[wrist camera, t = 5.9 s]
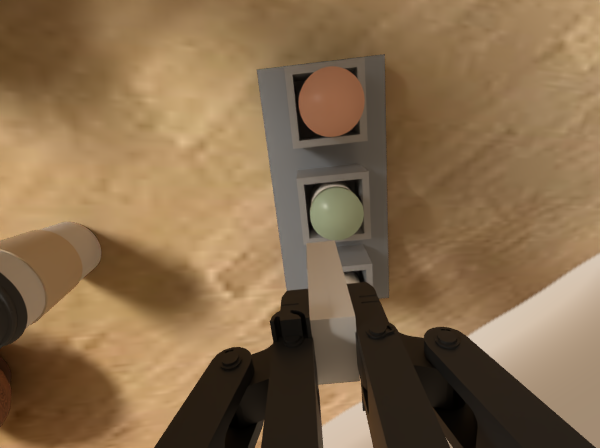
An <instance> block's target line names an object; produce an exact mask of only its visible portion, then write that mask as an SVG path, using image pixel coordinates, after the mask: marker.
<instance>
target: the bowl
mask: <svg viewBox="0 0 600 448" xmlns="http://www.w3.org/2000/svg"><path fill="white" fill-rule="evenodd" d="M10 382H11V371H10V369H9V367H8V365H7V363H6V362H5V361H4V360H3V359H2V358H1V357H0V427H1V425H2V423H3V422H4V420H5V419H6V417H7V415H8V413H9V410H10V404H11V387H10V385H9V383H10Z"/></svg>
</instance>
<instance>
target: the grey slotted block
mask: <svg viewBox="0 0 600 448" xmlns="http://www.w3.org/2000/svg"><path fill="white" fill-rule="evenodd" d="M329 66H336V67H341V68H344V69H346V70H348V71H350V72H351V73H352V74H354V75H355V76H356V78H357V79H358V80H359V82H360V84H361V85H362V88H363V91H364V97H365V104H364V110H363V113H362V116H361V118H360V120H359V121H358V123H357V124H356V125H355V126H354V127H353V128H352V129H351V130H350V131H348V132H347V133H345V134H343V135H340V136H336V137H325V136H321V135H319V134H316V133H315V132H313V131H312V130H310V129H309V128H308V127H307V125H306V124H305V123H304V121H303V119H302V117H301V114H300V111H299V95H300V91H301V88H302V86H303V84H304V83H305V81H306V80H307V78H308V77H309V76H310V75H311V74H313V73H314V72H315V71H317V70H319V69H321V68H324V67H329ZM257 75H258V83H259V90H260V97H261V105H262V112H263V119H264V127H265V134H266V141H267V149H268V156H269V163H270V171H271V178H272V185H273V193H274V200H275V207H276V215H277V222H278V229H279V237H280V244H281V251H282V259H283V266H284V274H285V281H286V288H287V291H288V290H298V289H308V271H307V248H306V243H315V242H325V241H334V240H329V239H326V238H324V237H322V236H321V235H319V234H318V233H317V232H316V231H315V229H314V228H313V226H312V223H311V219H310V207H311V205H310V194H311V191H312V189H313V187H314V186H315V184H316V183H326V182H335V181H344V182H345V183H346V184H347V185H348V186H349V187H350V189H351V190H352V192H353V193H354V194H355V195H356V196H357V197H358V199H359V200H360V202H361V204H362V206H363V211H364V217H363V222H362V224H361V226H360V228H359V229H358V231H357V232H356V233H355V234H353V235H352V236H350V237H349V238H346V239H343V240H335V244H336V247H337V251H338V255H339V258H340V262H341V266H342V269H343V272H348V271H354V272H355V273H356V274H357V276H358V278H359V281H360V282H367V283H369V284H370V285H371V286H373V287H374V289H375V291H376V293H377V296H378V298H379V299H380V298H389V266H388V212H387V157H386V103H385V54H383V55H375V56H366V57H358V58H350V59H341V60H333V61H325V62H316V63H308V64H300V65H291V66H283V67H275V68H266V69H258V70H257Z"/></svg>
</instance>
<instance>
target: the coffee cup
mask: <svg viewBox="0 0 600 448" xmlns="http://www.w3.org/2000/svg"><path fill="white" fill-rule="evenodd" d="M100 259H101V247H100V243H99V241H98V239H97V238H96V236H95V235H94V234H93V233H92V232H91V231H90V230H89V229H88V228H86V227H84V226H83V225H80V224H78V223H74V222H62V223H59V224H56V225H52V226H49V227H46V228H43V229H40V230H34V231H29V232H26V233H23V234H20V235H17V236H14V237H10V238H7V239H4V240H1V241H0V348H2V347H3V346H6V345H8V344H11V343H13V342H14V341H16V340H17V339H18V338H19V337H20V336H21V335H22V334H23V332H24V330H25V329H26V328H27V327H28V326H29V325H31V324H33V323H35V322H36V321H38V320H39V319H40V318H41V317H42V316H43V315H44V314H45V313H47V312H48V311H49V310H50V309H51V308H52V307H53V306H54V305H55V304H57V303H58V302H59V301H60V300H61V299H62V298H63V297H64V296H65V295H66V294H68V293H69V292H70V291H71V290H72V289H73V288H74V287H75V286H76V285H77V284H78V283H79V281H80V280H81V279H83V278H84V277H85V276H86V275H87V274H88V273H89V272H91V271H92V270H93V269H94V268H95V267H96V266H97V265H98V264H99V262H100Z"/></svg>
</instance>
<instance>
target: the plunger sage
mask: <svg viewBox="0 0 600 448" xmlns="http://www.w3.org/2000/svg"><path fill="white" fill-rule="evenodd" d="M310 205H311V207H310V219H311V223H312V226H313V228H314V229H315V231H316V232H317V233H318V234H319V235H321V236H322V237H324V238H326V239H329V240H343V239H346V238H349V237H350V236H352V235H353V234H355V233H356V232H357V231H358V229H359V228H360V226H361V224H362V222H363V217H364V211H363V206H362V204H361V202H360V200H359V199H358V197H357V196H356V195H355V194H354V193H353V192H352V190H351V189H350V187H349V186H348V185H347V184H346V183H345V182H344V181H335V182H326V183H316V184H315V186H314V187H313V189H312V191H311V194H310Z"/></svg>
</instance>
